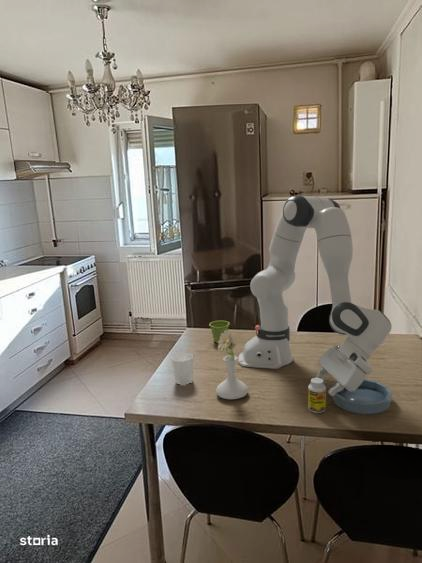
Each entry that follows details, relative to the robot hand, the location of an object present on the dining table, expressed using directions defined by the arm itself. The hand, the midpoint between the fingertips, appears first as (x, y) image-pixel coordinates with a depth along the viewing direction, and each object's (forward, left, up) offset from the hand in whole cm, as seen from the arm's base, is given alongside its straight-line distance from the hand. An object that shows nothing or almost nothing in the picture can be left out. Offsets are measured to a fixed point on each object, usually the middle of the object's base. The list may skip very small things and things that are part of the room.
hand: (323, 387), depth 139 cm
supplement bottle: (-2, -1, -8) cm, 8 cm away
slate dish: (+13, +5, -7) cm, 16 cm away
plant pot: (-39, +61, -8) cm, 73 cm away
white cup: (-49, +19, -8) cm, 53 cm away
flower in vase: (-30, +8, -8) cm, 32 cm away
